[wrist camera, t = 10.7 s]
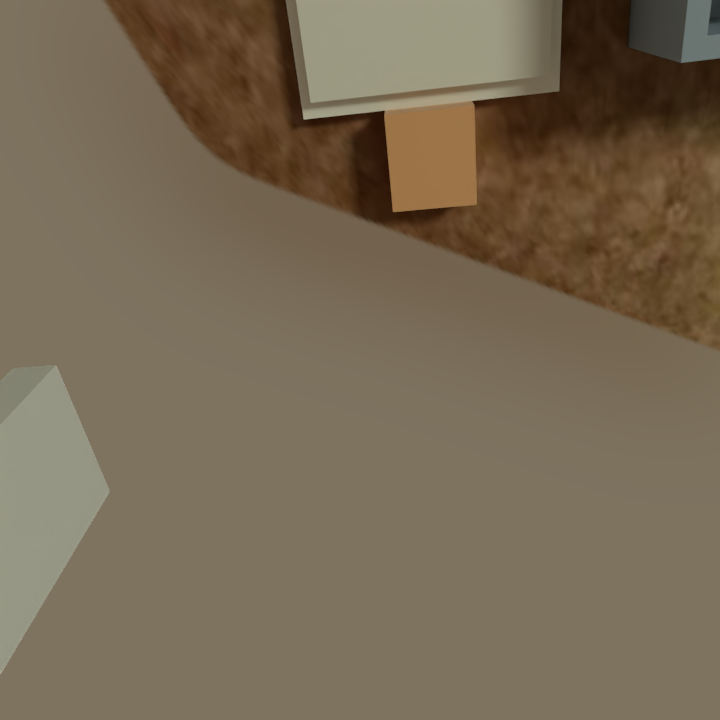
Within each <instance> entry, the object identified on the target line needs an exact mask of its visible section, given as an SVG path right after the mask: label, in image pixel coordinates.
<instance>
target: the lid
mask: <svg viewBox="0 0 720 720" xmlns="http://www.w3.org/2000/svg"><path fill="white" fill-rule="evenodd" d="M286 6H287V12H288V19H289V26H290V32H291V39H292V46H293V52H294V59H295V66H296V72H297V79H298V85H299V92H300V99H301V105H302V112H303V119H304V120H305V119H314V118H323V117H332V116H341V115H350V114H359V113H368V112H377V111H385V114H384V120H385V131H386V142H387V153H388V163H389V174H390V185H391V196H392V207H393V212H401V211H412V210H423V209H434V208H445V207H456V206H467V205H477V185H476V147H475V109H474V104H473V102H472V101H476V100H485V99H494V98H503V97H512V96H521V95H530V94H539V93H548V92H557V91H559V85H560V56H561V27H562V0H286Z"/></svg>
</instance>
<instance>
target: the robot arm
mask: <svg viewBox="0 0 720 720" xmlns="http://www.w3.org/2000/svg"><path fill="white" fill-rule="evenodd" d="M109 492H110V491H109V488H108V486H107V484H106V481H105V479H104V477H103V474H102V472H101V469H100V467H99V465H98V462H97V460H96V458H95V456H94V453H93V451H92V448H91V446H90V444H89V441H88V439H87V437H86V434H85V432H84V430H83V427H82V425H81V423H80V420H79V418H78V416H77V413H76V411H75V408H74V406H73V404H72V402H71V399H70V397H69V394H68V392H67V390H66V387H65V385H64V383H63V380H62V378H61V376H60V373H59V371H58V369H57V366H56V365H52V366H38V367H25V368H14V369H12V370H11V371H10V372H9V373H8V374H7V375H6V376H5V377H4V378H3V379H2V380H1V381H0V674H1V673H2V671H3V669H4V668H5V666H6V664H7V663H8V661H9V659H10V657H11V656H12V654H13V653H14V651H15V649H16V647H17V646H18V644H19V643H20V641H21V639H22V638H23V636H24V634H25V633H26V631H27V629H28V628H29V626H30V624H31V622H32V621H33V619H34V617H35V616H36V614H37V612H38V611H39V609H40V607H41V606H42V604H43V602H44V601H45V599H46V597H47V596H48V594H49V592H50V591H51V589H52V587H53V586H54V584H55V582H56V581H57V579H58V577H59V576H60V574H61V572H62V570H63V569H64V567H65V566H66V564H67V562H68V561H69V559H70V557H71V555H72V554H73V552H74V550H75V549H76V547H77V545H78V544H79V542H80V540H81V539H82V537H83V535H84V534H85V532H86V530H87V529H88V527H89V525H90V524H91V522H92V520H93V519H94V517H95V515H96V513H97V512H98V510H99V509H100V507H101V505H102V504H103V502H104V500H105V499H106V497H107V495H108V493H109Z"/></svg>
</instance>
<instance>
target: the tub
mask: <svg viewBox="0 0 720 720" xmlns="http://www.w3.org/2000/svg"><path fill="white" fill-rule="evenodd" d="M628 48H632V49H635V50H638V51H642V52H645V53H649V54H652V55H655V56H659V57H662V58H666V59H669V60H672V61H676V62H679V63H686V62H693V61H701V60H709V59H717V58H720V0H631V7H630V21H629V34H628Z"/></svg>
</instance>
